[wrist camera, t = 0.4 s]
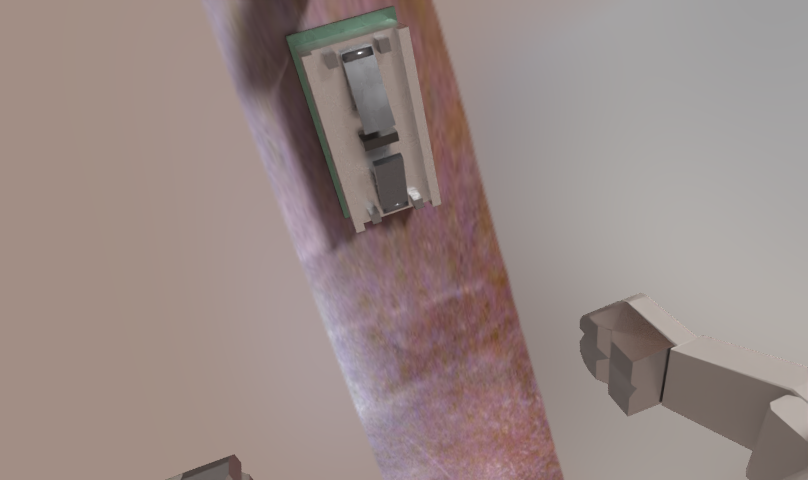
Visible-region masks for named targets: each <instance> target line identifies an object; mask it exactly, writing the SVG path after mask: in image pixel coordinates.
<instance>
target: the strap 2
mask: <svg viewBox="0 0 808 480" xmlns="http://www.w3.org/2000/svg"><path fill="white" fill-rule="evenodd" d="M372 164H373V169H374V174H375V179H376V184H377V189H378V194H379V199H380V204H381V209H382V211H383V214H386V213H389V212H392V211H395V210H398V209H401V208H404V207H407V206H409V201H408V193H407V185H406V177H405V169H404V160H403V156H402V154H401V153H397V154H394V155H391V156H388V157H385V158H382V159H379V160H376V161H373V162H372Z"/></svg>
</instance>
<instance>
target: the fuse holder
mask: <svg viewBox="0 0 808 480" xmlns="http://www.w3.org/2000/svg"><path fill="white" fill-rule="evenodd" d="M286 39H287V42H288V45H289V48H290V51H291V55H292V58H293V61H294V64H295V67H296V70H297V73H298V76H299V79H300V82H301V85H302V88H303V91H304V94H305V98H306V101H307V104H308V107H309V110H310V113H311V116H312V119H313V122H314V125H315V128H316V131H317V134H318V137H319V141H320V144H321V147H322V150H323V153H324V156H325V159H326V162H327V165H328V168H329V171H330V174H331V177H332V180H333V183H334V187H335V190H336V193H337V196H338V199H339V202H340V205H341V208H342V211H343V214H344V217H345V218H348V217H350V218H351V221H352V223H353V225H354V228H355V230H356V232H357V233H359V232H361V231H364V230H365V227H364V223H366V222H369V221H372V223H373V225H374V224H377V223H380V222H382V219H381V217H383V216H386V215H389V214H392V213H395V212H398V211H401V210H403V209H406V208H409V207H412V206H414V208H415V209H416V210H417V209H420V208H423V207H424V202H427V201H429V202H430V203H431V205H432V206H433V207H434V206H437V205H440V204H441V200H440V194H439V189H438V184H437V178H436V173H435V167H434V162H433V157H432V151H431V146H430V140H429V135H428V130H427V124H426V119H425V113H424V108H423V103H422V97H421V92H420V87H419V81H418V76H417V70H416V65H415V60H414V54H413V49H412V43H411V38H410V33H409V27H408V26H406V25H404V24H402V23H400V22H398V21H397V18H396V13H395V8H394V6H390V7H386V8H383V9H379V10H376V11H372V12H369V13H365V14H362V15H358V16H354V17H351V18H347V19H344V20H340V21H337V22H333V23H330V24H326V25H323V26H319V27H315V28H312V29H308V30H305V31H301V32H298V33H294V34H291V35H287V36H286ZM371 44H372V47H373V50H374V53H375V57H376V60H377V63H378V67H379V70H380V73H381V77H382V80H383V84H384V87H385V90H386V94H387V97H388V100H389V104H390V107H391V110H392V114H393V117H394V121H395V124H396V125H395V126H392V127H389V128H385V129H382V130H379V131H376V132H373V133H370V134H366V135H365V133H364V130H363V127H362V124H361V121H360V117H359V114H358V111H357V108H356V105H355V102H354V98H353V95H352V92H351V89H350V86H349V83H348V79H347V76H346V73H345V70H344V67H343V64H342V60H341V57H340V53H344V52H347V51H351V50H354V49H357V48H361V47H364V46H368V45H371ZM397 153H401V154H402V156H403V160H404V169H405V177H406V185H407V193H408V201H409V206H407V207H404V208H401V209H398V210H395V211H392V212H389V213H386V214H383V211H382V209H381V204H380V199H379V194H378V189H377V184H376V179H375V174H374V169H373V164H372V162H373V161H376V160H379V159H382V158H385V157H388V156H391V155H394V154H397Z"/></svg>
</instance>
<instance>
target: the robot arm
mask: <svg viewBox="0 0 808 480" xmlns="http://www.w3.org/2000/svg"><path fill="white" fill-rule="evenodd" d="M580 329H581V330H582V331H583V332H584V333H585V334H584V336H583V337H582V339H581V340H580V352H581V355H582V358H583V361H584V363H585V365H586V366H587V368H588V370H589V371H590V372H591V373H592V375H593V376H594V377H595V378H596V379H597V380H600V381H602V382H605V383H607V384H608V393H609V395H610V396H611V397H612V399H613V400H614V401H615V402H616V403H617V405H618V406H619V407H620V408H621V409H622V410H623V412H624V413H625V414H626V415H627V416H630V415H633V414H635V413H638V412H640V411H643V410H645V409H648V408H650V407H652V406H655V405H658V404H660V403H662V406H665V407H666V408H668V409H670V410H672V411H674V412H676V413H678V414H680V415H682V416H684V417H686V418H688V419H690V420H692V421H694V422H696V423H698V424H700V425H702V426H704V427H706V428H708V429H710V430H712V431H714V432H716V433H718V434H720V435H722V436H724V437H726V438H728V439H730V440H732V441H734V442H736V443H738V444H740V445H742V446H745V447H746V448H748V449H750V450H752V451H753V452H752V455H751V457H750V460H749V463H748V466H747V468H746V477H747V478H748V479H749V480H808V367H806V366H803V365H800V364H796V363H793V362H790V361H787V360H783V359H780V358H777V357H773V356H770V355H767V354H764V353H760V352H757V351H754V350H750V349H747V348H744V347H740V346H737V345H734V344H730V343H727V342H724V341H721V340H717V339H714V338H711V337H707V336H704V335H702V336H700V337H696V336H695V335H694V334H693V333H691V332H690V331H689V330H688V329H687V328H685V327H684V326H683V325H682V324H681V323H679V322H678V321H677V320H676V319H675V318H673V317H672V316H671V315H670V314H668V313H667V312H666V311H665V310H664V309H662V308H661V307H660V306H659V305H657V304H656V303H655V302H654V301H653V300H651V299H650V298H649V297H648V296H647V295H645V294H642V293H639V294H636V295H634V296H631V297H629V298H626V299H624V300H621V301H617V302H615V303H613V304H611V305H608V306H605V307H603V308H600V309H598V310H596V311H593V312H591V313H588V314H586V315H583V316H582V318H581V319H580ZM167 480H253V479H252V478H251V476H250V475H249V474H246V473H242V472H241V462H240V461H239V460H238V458H237V457H236V456H235V455H232V456H228V457H226V458H223V459H220V460H217V461H215V462H212V463H209V464H206V465H204V466H201V467H198V468H196V469H193V470H190V471H187V472H185V473H182V474H179V475H177V476H174V477H172V478H169V479H167Z"/></svg>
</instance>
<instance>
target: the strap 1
mask: <svg viewBox="0 0 808 480" xmlns="http://www.w3.org/2000/svg"><path fill="white" fill-rule="evenodd" d="M340 57H341V60H342V64H343V67H344V70H345V73H346V76H347V79H348V83H349V86H350V89H351V92H352V95H353V98H354V102H355V105H356V108H357V111H358V114H359V117H360V121H361V124H362V127H363V130H364V133H365V135H366V134H370V133H373V132H376V131H379V130H382V129H385V128H389V127H392V126H395V125H396V124H395V121H394V117H393V114H392V110H391V107H390V104H389V100H388V97H387V94H386V90H385V87H384V84H383V80H382V77H381V73H380V70H379V67H378V63H377V60H376V57H375V53H374V50H373V47H372V44H371V45H368V46H364V47H361V48H357V49H354V50H351V51H347V52H344V53H340Z"/></svg>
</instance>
